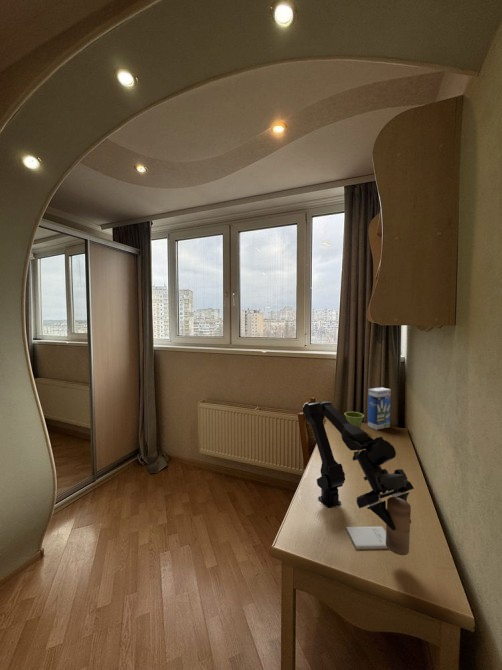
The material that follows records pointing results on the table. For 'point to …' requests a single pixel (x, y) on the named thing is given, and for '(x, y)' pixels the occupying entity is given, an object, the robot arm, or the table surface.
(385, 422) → the string lights box
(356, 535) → the external hard drive
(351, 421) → the plant pot
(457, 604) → the table surface
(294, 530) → the table surface
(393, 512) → the walnut roller
